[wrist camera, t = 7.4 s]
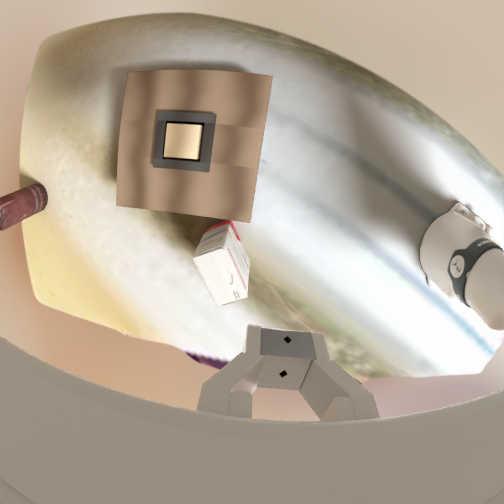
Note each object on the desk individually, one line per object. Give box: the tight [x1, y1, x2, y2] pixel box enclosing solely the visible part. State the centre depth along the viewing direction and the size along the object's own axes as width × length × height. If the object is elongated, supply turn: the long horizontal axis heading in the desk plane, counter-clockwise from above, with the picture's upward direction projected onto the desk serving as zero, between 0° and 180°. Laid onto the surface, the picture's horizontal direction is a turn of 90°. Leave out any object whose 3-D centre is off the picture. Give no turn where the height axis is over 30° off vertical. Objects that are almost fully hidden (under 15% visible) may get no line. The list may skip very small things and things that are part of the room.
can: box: [0, 184, 48, 231], centre depth 37 cm, size 6×6×14 cm
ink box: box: [192, 220, 250, 306], centre depth 41 cm, size 9×5×12 cm, turn 21°
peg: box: [164, 123, 204, 159], centre depth 35 cm, size 4×4×9 cm
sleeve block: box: [116, 69, 273, 223], centre depth 36 cm, size 20×20×9 cm
